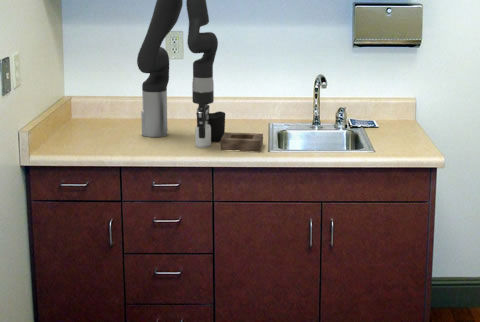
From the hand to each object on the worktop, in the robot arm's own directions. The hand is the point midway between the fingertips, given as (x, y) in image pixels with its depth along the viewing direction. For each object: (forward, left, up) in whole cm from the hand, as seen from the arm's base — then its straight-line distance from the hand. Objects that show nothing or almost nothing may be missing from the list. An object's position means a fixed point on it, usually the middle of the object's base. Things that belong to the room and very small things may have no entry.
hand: (203, 136), depth 279 cm
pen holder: (+2, +11, -4) cm, 12 cm away
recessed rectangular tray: (+14, +1, -4) cm, 14 cm away
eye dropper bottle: (0, 0, -4) cm, 4 cm away
